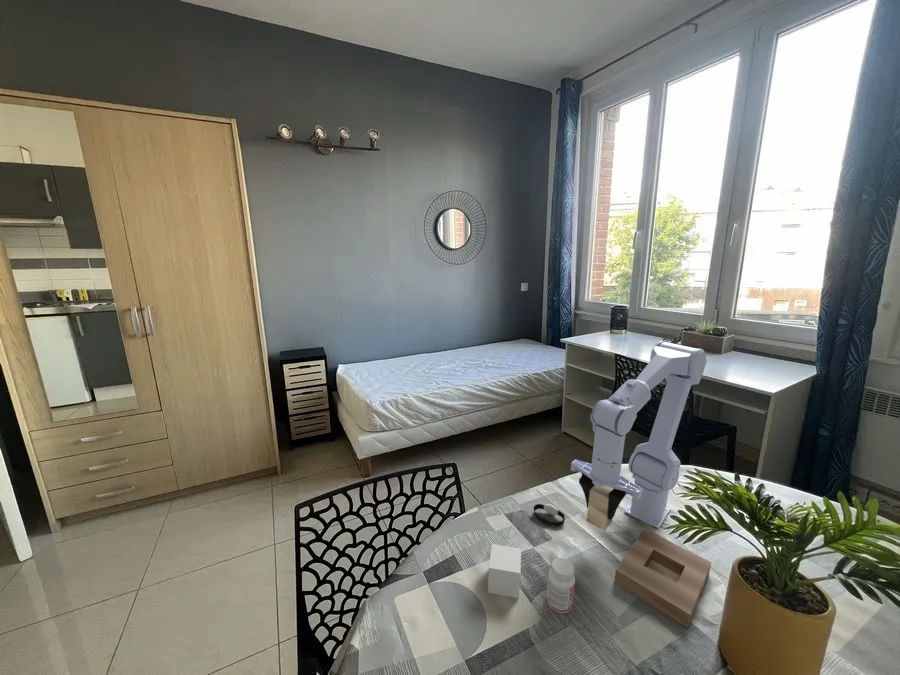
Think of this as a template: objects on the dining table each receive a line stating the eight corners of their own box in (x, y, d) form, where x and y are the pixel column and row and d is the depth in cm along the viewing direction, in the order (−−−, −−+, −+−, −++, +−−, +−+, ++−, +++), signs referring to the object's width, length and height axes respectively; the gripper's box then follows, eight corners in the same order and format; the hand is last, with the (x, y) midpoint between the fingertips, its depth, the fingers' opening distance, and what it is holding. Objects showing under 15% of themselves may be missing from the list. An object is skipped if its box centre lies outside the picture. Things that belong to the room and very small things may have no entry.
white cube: (490, 567, 78) (491, 543, 77) (519, 572, 77) (521, 548, 76) (487, 593, 72) (488, 567, 71) (518, 598, 71) (520, 573, 70)
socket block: (642, 539, 86) (644, 528, 85) (708, 574, 77) (711, 562, 76) (614, 581, 75) (615, 569, 74) (687, 628, 66) (690, 614, 65)
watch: (566, 520, 92) (567, 507, 91) (561, 532, 88) (562, 519, 87) (536, 508, 96) (537, 496, 95) (530, 519, 92) (531, 506, 91)
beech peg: (594, 512, 85) (598, 481, 83) (612, 521, 82) (616, 489, 80) (586, 520, 82) (590, 489, 80) (604, 530, 79) (608, 498, 77)
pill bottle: (573, 616, 68) (577, 579, 66) (546, 611, 69) (550, 574, 67) (570, 593, 72) (574, 557, 70) (545, 589, 73) (548, 553, 71)
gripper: (566, 449, 80) (561, 504, 84) (636, 479, 70) (627, 539, 74) (581, 438, 85) (576, 490, 88) (649, 464, 75) (640, 521, 78)
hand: (600, 511), depth 81 cm, fingers closed on beech peg, 4 cm apart
